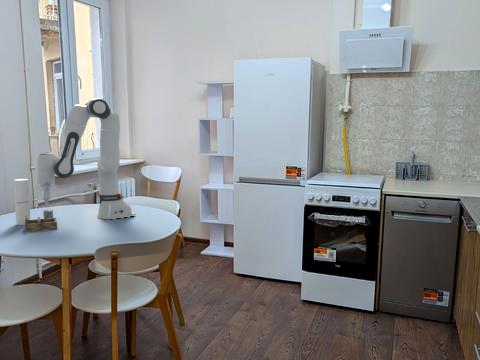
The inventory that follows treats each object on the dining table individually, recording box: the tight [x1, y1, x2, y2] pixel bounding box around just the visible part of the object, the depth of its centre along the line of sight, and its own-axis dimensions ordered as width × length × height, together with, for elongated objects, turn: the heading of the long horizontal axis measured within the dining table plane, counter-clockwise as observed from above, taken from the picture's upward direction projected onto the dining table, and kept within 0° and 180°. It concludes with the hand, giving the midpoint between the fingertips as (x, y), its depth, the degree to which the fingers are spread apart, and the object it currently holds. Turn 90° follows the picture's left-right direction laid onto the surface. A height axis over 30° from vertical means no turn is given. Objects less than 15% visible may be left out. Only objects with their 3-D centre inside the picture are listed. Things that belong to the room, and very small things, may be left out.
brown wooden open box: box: [24, 216, 58, 233], centre depth 220 cm, size 15×10×7 cm, turn 117°
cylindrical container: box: [13, 178, 31, 226], centre depth 228 cm, size 7×7×25 cm
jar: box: [43, 209, 54, 219], centre depth 235 cm, size 5×5×6 cm
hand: (46, 204), depth 233 cm, fingers open, 8 cm apart
